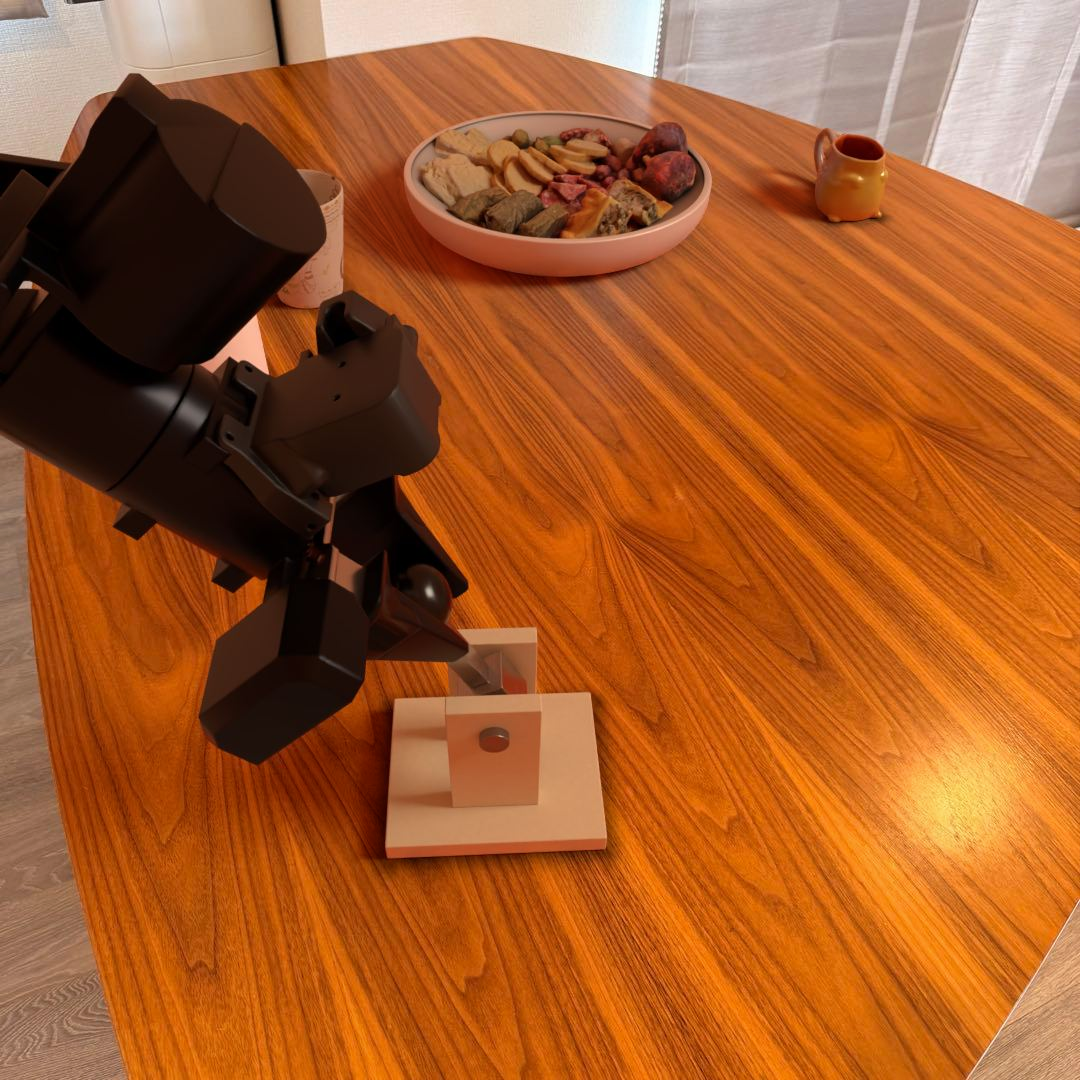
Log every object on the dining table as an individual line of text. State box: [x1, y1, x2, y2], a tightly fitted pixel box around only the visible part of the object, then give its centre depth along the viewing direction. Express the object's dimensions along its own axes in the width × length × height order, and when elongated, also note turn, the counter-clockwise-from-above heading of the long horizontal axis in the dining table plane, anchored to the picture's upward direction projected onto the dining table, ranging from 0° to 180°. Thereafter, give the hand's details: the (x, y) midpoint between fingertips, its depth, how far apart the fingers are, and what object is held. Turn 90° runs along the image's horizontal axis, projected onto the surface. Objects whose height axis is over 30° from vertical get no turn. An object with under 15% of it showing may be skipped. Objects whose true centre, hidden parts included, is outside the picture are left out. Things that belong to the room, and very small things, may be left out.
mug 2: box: [813, 127, 889, 223], centre depth 100 cm, size 12×7×7 cm, turn 10°
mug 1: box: [276, 168, 344, 310], centre depth 83 cm, size 8×12×10 cm, turn 105°
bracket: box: [384, 626, 608, 859], centre depth 49 cm, size 11×9×9 cm
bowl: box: [403, 109, 713, 278], centre depth 96 cm, size 30×30×8 cm
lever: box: [389, 560, 527, 696], centre depth 44 cm, size 11×4×4 cm
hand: (462, 622), depth 43 cm, fingers closed on lever, 3 cm apart
